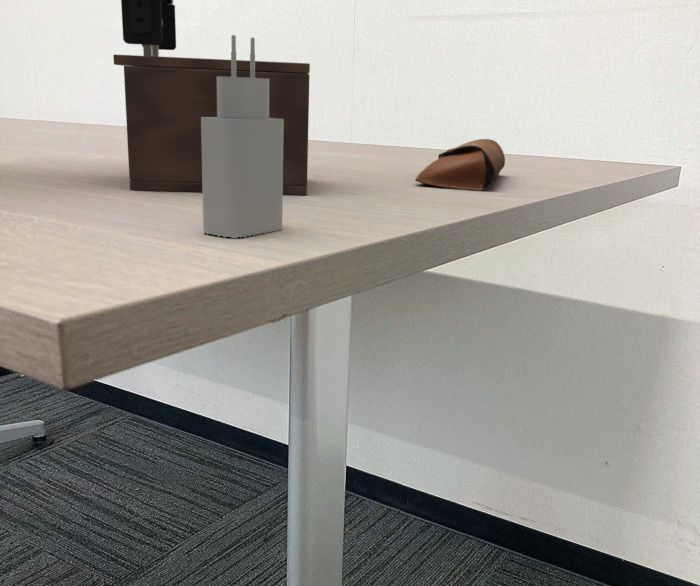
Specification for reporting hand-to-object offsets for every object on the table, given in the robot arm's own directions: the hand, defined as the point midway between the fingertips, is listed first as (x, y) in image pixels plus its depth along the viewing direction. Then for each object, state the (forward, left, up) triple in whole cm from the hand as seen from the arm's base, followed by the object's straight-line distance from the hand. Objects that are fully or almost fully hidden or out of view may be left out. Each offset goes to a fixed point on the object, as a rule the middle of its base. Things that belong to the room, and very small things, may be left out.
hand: (151, 46), depth 70 cm
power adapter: (+20, -18, -12) cm, 29 cm away
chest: (+6, +3, -12) cm, 14 cm away
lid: (+5, +3, -2) cm, 6 cm away
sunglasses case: (+24, +24, -12) cm, 36 cm away
